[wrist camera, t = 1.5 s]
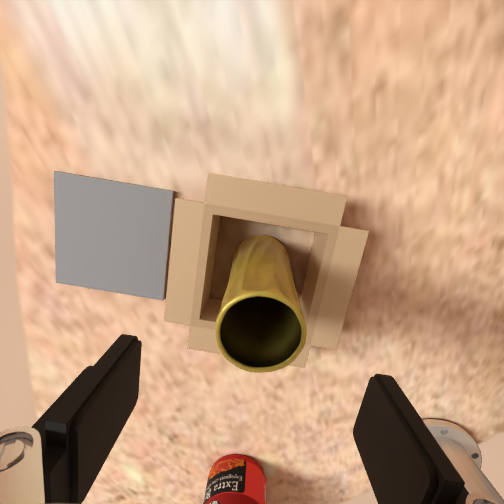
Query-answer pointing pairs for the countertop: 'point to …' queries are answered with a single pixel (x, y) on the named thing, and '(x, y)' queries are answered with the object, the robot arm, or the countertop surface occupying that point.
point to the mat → (112, 235)
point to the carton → (271, 212)
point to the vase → (261, 309)
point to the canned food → (236, 481)
